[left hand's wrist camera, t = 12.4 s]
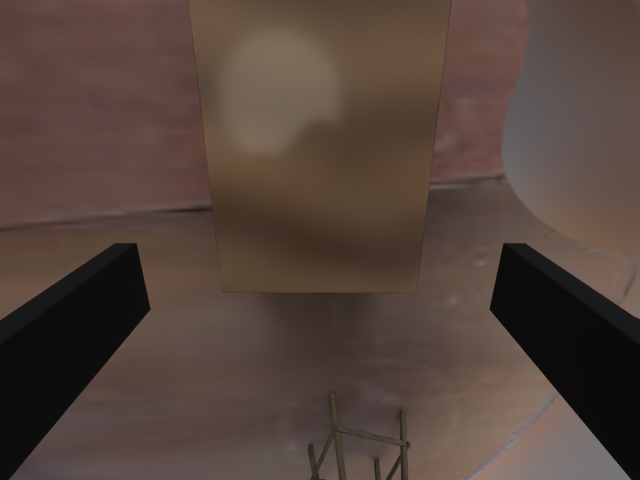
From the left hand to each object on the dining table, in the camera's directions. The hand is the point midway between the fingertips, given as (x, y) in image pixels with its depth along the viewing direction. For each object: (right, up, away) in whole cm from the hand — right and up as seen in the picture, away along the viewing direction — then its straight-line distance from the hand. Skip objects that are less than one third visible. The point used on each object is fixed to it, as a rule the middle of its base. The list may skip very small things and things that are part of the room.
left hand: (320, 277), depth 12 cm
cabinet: (0, +11, +12) cm, 16 cm away
